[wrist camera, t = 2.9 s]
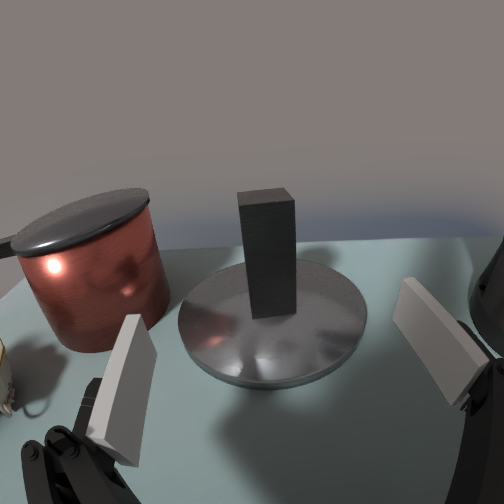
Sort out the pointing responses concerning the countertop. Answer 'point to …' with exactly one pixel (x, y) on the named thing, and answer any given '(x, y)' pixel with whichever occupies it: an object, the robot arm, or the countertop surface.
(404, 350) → the countertop surface
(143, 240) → the pot
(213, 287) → the lid
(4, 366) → the chinaware
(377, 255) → the countertop surface
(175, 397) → the countertop surface
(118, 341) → the robot arm
